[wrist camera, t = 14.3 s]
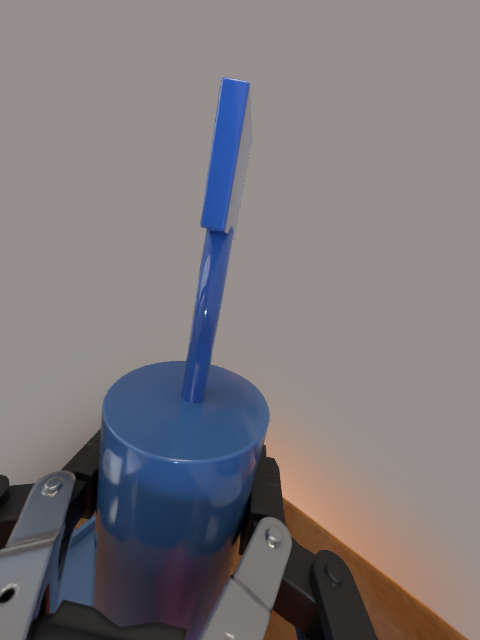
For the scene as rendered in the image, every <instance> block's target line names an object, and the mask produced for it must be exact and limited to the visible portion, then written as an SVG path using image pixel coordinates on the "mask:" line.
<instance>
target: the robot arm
mask: <svg viewBox="0 0 480 640" xmlns="http://www.w3.org/2000/svg"><path fill="white" fill-rule="evenodd" d="M100 434H101V429H100V430H99V431H98V432H97V433H96V434H95V435H94V436H93V438H91V439H90V440H89V441H88V442H87V444H85V446H84V447H83V448H82V449H81V450H80V451H79V452H78V453H77V454H76V455H75V456H74V457H73V458H72V459H71V460H70V461H69V462H68V463H67V464H66V465H65V467H64V468H63V469H62V470H61V471H56V472H52V473H50V474H48V475H46V476H44V477H42V478H41V479H40V480H39V481H38V482H36V483H34V484H24V485H13V486H9V479H8V478H7V477H6V476H4V475H0V640H185V638H186V632H187V629H185V628H180V627H176V626H172V625H168V624H164V623H160V622H151V623H145V624H138V625H132V626H125V627H120V626H117V625H116V624H115V623H113V622H112V621H111V620H109V619H108V618H107V617H106V616H104V615H103V614H102V613H101V612H99V611H98V610H97V609H95V608H94V607H93V606H88V605H84V604H80V603H76V602H72V601H68V600H62V601H61V603H60V605H59V607H58V599H59V593H60V588H61V583H62V579H63V575H64V571H65V567H66V562H67V558H68V554H69V550H70V546H71V541H72V537H73V533H74V527H75V526H76V524H77V523H78V521H79V520H80V518H85V519H89V520H90V519H91V517H92V516H93V514H94V513H95V511H96V502H97V485H98V468H99V451H100ZM239 555H242V558H241V560H240V562H239V564H238V566H237V568H236V570H235V572H234V573H233V575H231V576H230V577H229V579H228V580H227V582H226V584H225V586H224V588H223V590H222V592H221V594H220V596H219V598H218V600H217V602H216V604H215V606H214V608H213V610H212V612H211V614H210V616H209V618H208V620H207V622H206V624H205V626H204V628H203V630H202V632H201V634H200V636H199V638H198V640H263V639H264V635H265V632H266V629H267V626H268V623H269V619H270V616H271V612H272V610H274V611H275V612H276V613H278V614H279V615H280V616H282V617H283V618H284V619H286V620H287V621H288V622H290V623H291V624H292V625H294V626H295V628H296V633H297V638H298V640H378V639H377V636H376V634H375V631H374V629H373V626H372V624H371V621H370V619H369V616H368V614H367V611H366V609H365V606H364V604H363V601H362V599H361V596H360V594H359V591H358V589H357V586H356V584H355V581H354V579H353V576H352V574H351V572H350V570H349V568H348V566H347V565H346V564H345V562H344V561H343V560H342V559H341V558H340V557H339V556H338V555H336V554H335V553H333V552H331V551H328V550H322V551H319V552H318V553H317V554H316V555H315V554H313V553H311V552H310V551H308V550H307V549H305V548H303V547H302V546H300V545H299V544H298V543H297V542H296V541H295V540H294V539H293V538H292V537H291V535H290V533H289V531H288V529H287V527H286V524H285V518H284V509H283V500H282V491H281V481H280V472H279V467H278V465H277V463H276V461H275V459H274V458H270V457H266V446H265V445H263V448H262V452H261V455H260V459H259V463H258V467H257V471H256V474H255V478H254V482H253V486H252V490H251V493H250V497H249V501H248V505H247V509H246V512H245V516H244V520H243V524H242V528H241V531H240V547H239ZM57 607H58V608H57Z"/></svg>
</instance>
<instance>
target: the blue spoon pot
mask: <svg viewBox="0 0 480 640" xmlns="http://www.w3.org/2000/svg"><path fill="white" fill-rule="evenodd" d="M251 144H252V127H251V102H250V84H249V82H247V81H244V80H239V79H233V78H227V77H223V78H222V80H221V85H220V92H219V99H218V106H217V113H216V120H215V127H214V133H213V141H212V147H211V154H210V161H209V168H208V175H207V183H206V189H205V196H204V203H203V210H202V216H201V223H200V224H201V227H202V228H204V229H205V230H206V233H205V240H204V247H203V253H202V260H201V267H200V273H199V279H198V287H197V293H196V299H195V306H194V312H193V319H192V326H191V332H190V339H189V346H188V353H187V359H186V361H170V362H161V363H155V364H151V365H147V366H143V367H141V368H138V369H135V370H133V371H131V372H129V373H128V374H126V375H124V376H122V377H121V378H120V379H118V380H117V381H116V382H115V383H114V384H113V385H112V386H111V388H110V389H109V390H108V392H107V394H106V396H105V398H104V401H103V405H102V417H101V434H100V451H99V468H98V485H97V502H96V519H95V536H94V552H93V569H92V586H91V603H90V606H93V607H94V608H95V609H97V610H98V611H99V612H101V613H102V614H103V615H104V616H106V617H107V618H108V619H109V620H111V621H112V622H113V623H115V624H116V625H117V626H120V627H125V626H132V625H138V624H145V623H151V622H160V623H164V624H168V625H172V626H176V627H180V628H185V629H187V632H186V638H185V640H198V638H199V636H200V634H201V632H202V630H203V628H204V626H205V624H206V622H207V620H208V618H209V616H210V614H211V612H212V610H213V608H214V606H215V604H216V602H217V600H218V598H219V596H220V594H221V592H222V590H223V588H224V586H225V584H226V582H227V580H228V577H229V573H230V569H231V566H232V562H233V558H234V554H235V550H236V547H237V543H238V539H239V535H240V531H241V528H242V524H243V520H244V516H245V512H246V509H247V505H248V501H249V497H250V493H251V490H252V486H253V482H254V478H255V474H256V471H257V467H258V463H259V459H260V455H261V452H262V448H263V444H264V440H265V436H266V432H267V429H268V425H269V418H270V417H269V416H270V414H269V409H268V405H267V402H266V400H265V398H264V396H263V395H262V394H261V392H260V391H259V390H258V389H257V388H256V387H255V386H254V385H253V384H252V383H251V382H249V381H248V380H246V379H245V378H243V377H242V376H240V375H238V374H236V373H234V372H232V371H229V370H227V369H224V368H221V367H218V366H214V365H211V360H212V354H213V349H214V342H215V337H216V332H217V326H218V321H219V315H220V309H221V304H222V298H223V293H224V287H225V282H226V276H227V270H228V265H229V259H230V253H231V248H232V243H233V240H234V238H235V232H236V227H237V221H238V215H239V209H240V204H241V198H242V193H243V188H244V182H245V177H246V171H247V166H248V160H249V155H250V149H251Z"/></svg>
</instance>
